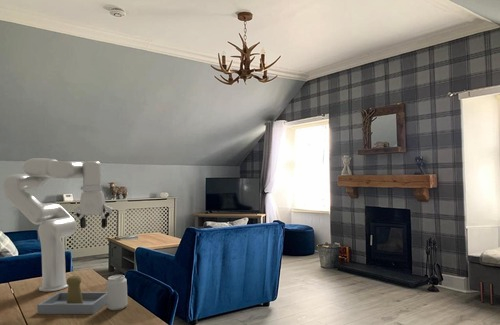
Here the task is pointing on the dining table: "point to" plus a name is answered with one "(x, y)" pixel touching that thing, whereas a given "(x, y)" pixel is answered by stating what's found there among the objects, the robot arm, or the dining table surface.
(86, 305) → the tray
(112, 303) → the can
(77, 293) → the pepper mill
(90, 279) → the dining table surface
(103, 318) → the dining table surface
